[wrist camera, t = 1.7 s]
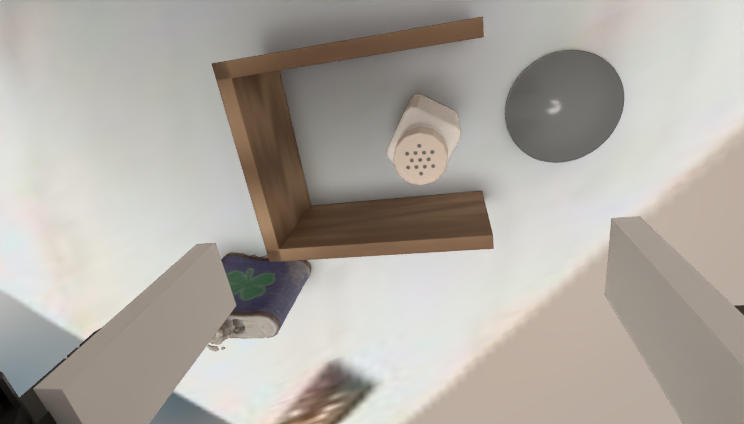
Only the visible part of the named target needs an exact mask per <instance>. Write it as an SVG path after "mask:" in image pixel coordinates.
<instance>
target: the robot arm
mask: <svg viewBox="0 0 744 424" xmlns="http://www.w3.org/2000/svg"><path fill="white" fill-rule="evenodd" d="M605 296H606V298H607V300H608V301H609V303H610V305H611V306H612V308H613V310H614V311H615V313H616V314H617V316H618V318H619V320H620V321H621V323H622V324H623V326H624V328H625V329H626V331H627V333H628V334H629V336H630V337H631V339H632V341H633V343H634V344H635V346H636V347H637V349H638V351H639V352H640V354H641V356H642V357H643V359H644V360H645V362H646V364H647V365H648V367H649V369H650V371H651V372H652V374H653V375H654V377H655V378H656V380H657V382H658V384H659V385H660V387H661V389H662V390H663V392H664V394H665V395H666V397H667V398H668V400H669V402H670V403H671V405H672V406H673V408H674V410H675V411H676V413H677V415H678V417H679V418H680V420H681V421H682V423H683V424H744V305H742V306H734V305H732V304H731V303H730V302H729V301H728V300H727V299H726V298H725V297H724V296H723V295H722V294H721V293H720V292H719V291H718V290H717V289H716V288H715V287H714V286H713V285H711V284H710V283H709V282H708V281H707V280H706V279H705V278H704V277H703V276H702V275H701V274H700V273H699V272H698V271H697V270H696V269H695V268H694V267H693V266H692V265H690V264H689V263H688V262H687V261H686V260H685V259H684V258H683V257H682V256H681V255H680V254H679V253H678V252H677V251H676V250H675V249H674V248H673V247H672V246H670V244H668V243H667V242H666V241H665V240H664V239H663V238H662V237H661V236H660V235H659V234H658V233H657V232H656V231H655V230H654V229H653V228H652V227H651V226H650V225H649V224H647V223H646V222H645V221H644V220H643V219H642V218H641V217H640V216H637V217H621V218H611V229H610V240H609V251H608V262H607V274H606V285H605ZM235 307H236V302H235V300H234V297H233V294H232V291H231V288H230V285H229V282H228V279H227V276H226V273H225V270H224V267H223V264H222V261H221V258H220V255H219V252H218V249H217V246H216V243H207V244H196V245H195V246H194V247H193V248H192V249H191V250H190V251H188V252H187V253H186V254H185V255H184V256H183V257H182V258H181V259H179V260H178V261H177V262H176V263H175V264H174V265H173V266H171V267H170V268H169V269H168V270H167V271H166V272H165V273H164V274H162V275H161V276H160V277H159V278H158V279H157V280H156V281H154V282H153V283H152V284H151V285H150V286H149V287H148V288H147V289H145V290H144V291H143V292H142V293H141V294H140V295H139V296H137V297H136V298H135V299H134V300H133V301H132V302H131V303H130V304H128V305H127V306H126V307H125V308H124V309H123V310H122V311H120V312H119V313H118V314H117V315H116V316H115V317H114V318H113V319H111V320H110V321H109V322H108V323H107V324H106V325H105V326H103V327H102V328H100V329H99V330H97V331H95V332H94V333H93V334H92V335H90V336H89V337H88V338H87V339H86V340H85V341H84V342H82V343H81V344H80V347H79V348H76V349H75V350H73V351H72V352H71V353H70V354H69V355H68V356H67V359H63V360H62V361H61V362H60V363H58V364H57V365H56V366H55V367H54V368H53V369H52V370H51V371H49V372H48V373H47V374H46V375H45V376H44V377H43V378H42V379H40V380H39V381H38V382H37V383H36V384H35V385H33V386H32V387H31V388H30V389H29V390H28V391H27V392H25V393H24V394H23V395H22V396H21V397H20V398H19V397H18V395H17V394H16V392H15V391H14V389H13V388H12V386H11V385H10V383H9V382H8V380H7V379H6V377H5V376H4V374H3V373H2V372H0V424H149V423H150V421H151V420H152V419H153V417H154V416H155V415H156V413H157V412H158V411H159V409H160V408H161V407H162V405H163V404H164V403H165V401H166V400H167V399H168V397H169V396H170V394H171V393H172V392H173V390H174V389H175V388H176V386H177V385H178V384H179V382H180V381H181V380H182V378H183V377H184V376H185V374H186V373H187V372H188V370H189V369H190V367H191V366H192V365H193V363H194V362H195V361H196V359H197V358H198V357H199V355H200V354H201V353H202V351H203V350H204V349H205V347H206V346H207V344H208V343H209V342H210V340H211V339H212V338H213V336H214V335H215V334H216V332H217V331H218V330H219V328H220V327H221V326H222V324H223V323H224V322H225V320H226V319H227V317H228V316H229V315H230V313H231V312H232V311H233V309H234V308H235Z"/></svg>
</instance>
